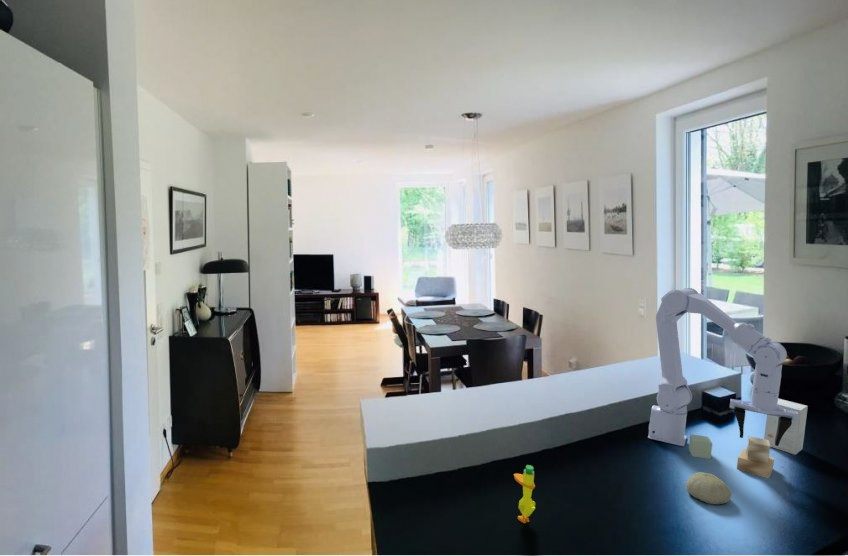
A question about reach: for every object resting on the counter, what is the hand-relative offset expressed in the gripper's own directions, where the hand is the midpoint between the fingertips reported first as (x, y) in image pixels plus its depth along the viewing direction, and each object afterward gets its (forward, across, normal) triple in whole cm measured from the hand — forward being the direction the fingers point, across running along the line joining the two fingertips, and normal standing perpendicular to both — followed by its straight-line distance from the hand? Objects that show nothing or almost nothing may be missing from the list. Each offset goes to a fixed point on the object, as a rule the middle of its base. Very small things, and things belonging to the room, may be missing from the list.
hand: (758, 440), depth 134 cm
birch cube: (+5, 0, 0) cm, 5 cm away
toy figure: (+8, -42, -57) cm, 71 cm away
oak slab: (+8, 0, 0) cm, 8 cm away
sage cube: (+8, -13, +1) cm, 15 cm away
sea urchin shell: (+8, -10, -23) cm, 26 cm away
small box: (+8, +7, +21) cm, 24 cm away
